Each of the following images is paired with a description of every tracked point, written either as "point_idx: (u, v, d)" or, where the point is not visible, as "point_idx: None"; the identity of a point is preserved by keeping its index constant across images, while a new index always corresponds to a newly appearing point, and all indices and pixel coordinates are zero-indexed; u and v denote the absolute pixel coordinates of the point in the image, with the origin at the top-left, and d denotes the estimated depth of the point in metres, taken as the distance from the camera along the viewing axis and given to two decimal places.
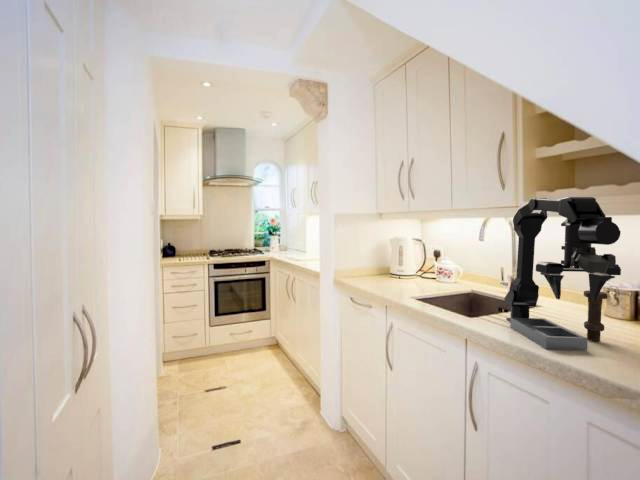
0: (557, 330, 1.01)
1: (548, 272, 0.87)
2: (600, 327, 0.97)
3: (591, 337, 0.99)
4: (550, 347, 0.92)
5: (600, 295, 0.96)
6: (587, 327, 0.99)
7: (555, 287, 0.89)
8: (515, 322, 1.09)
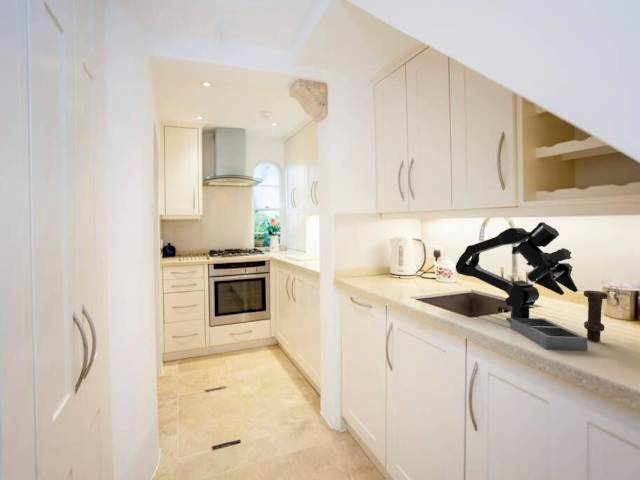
0: (557, 330, 1.01)
1: (544, 270, 1.03)
2: (600, 327, 0.97)
3: (591, 337, 0.99)
4: (550, 347, 0.92)
5: (600, 295, 0.96)
6: (587, 327, 0.99)
7: (554, 284, 1.03)
8: (515, 322, 1.09)
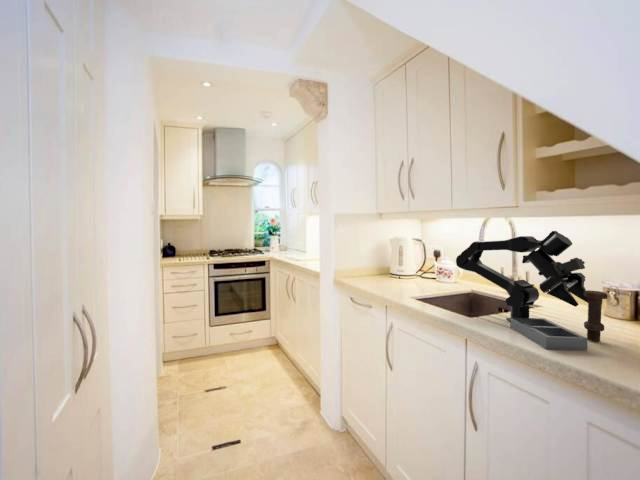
0: (557, 330, 1.01)
1: (557, 280, 0.99)
2: (600, 327, 0.97)
3: (591, 337, 0.99)
4: (550, 347, 0.92)
5: (600, 295, 0.96)
6: (587, 327, 0.99)
7: (568, 295, 1.00)
8: (515, 322, 1.09)
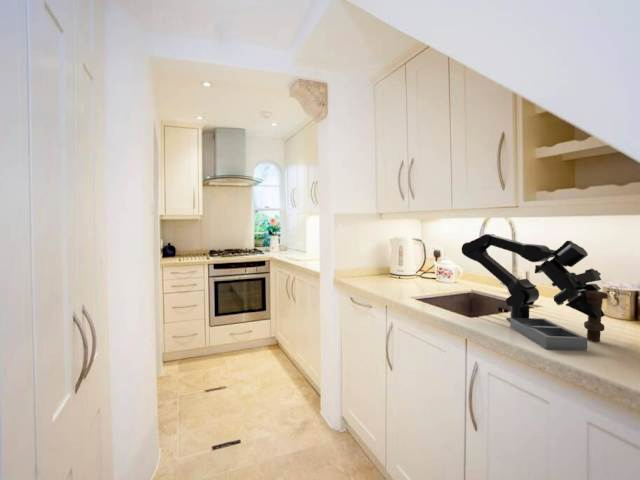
0: (557, 330, 1.01)
1: (573, 293, 0.96)
2: (600, 327, 0.97)
3: (591, 337, 0.99)
4: (550, 347, 0.92)
5: (600, 295, 0.96)
6: (587, 327, 0.99)
7: (587, 307, 0.98)
8: (515, 322, 1.09)
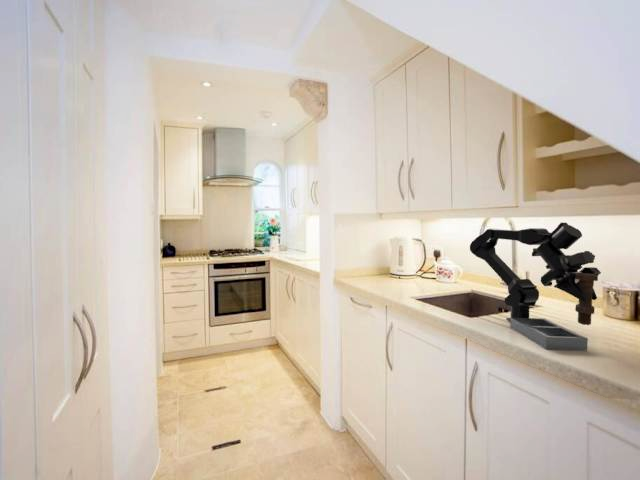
0: (557, 330, 1.01)
1: (557, 274, 0.96)
2: (589, 309, 0.95)
3: (580, 320, 0.97)
4: (550, 347, 0.92)
5: (589, 277, 0.94)
6: (576, 309, 0.97)
7: (575, 289, 0.96)
8: (515, 322, 1.09)
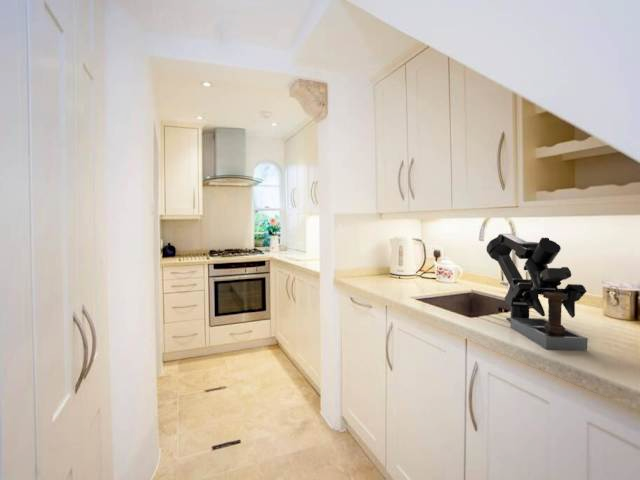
0: None
1: (520, 287, 0.99)
2: (554, 329, 0.95)
3: None
4: (550, 347, 0.92)
5: (552, 296, 0.95)
6: (545, 328, 0.98)
7: (536, 304, 0.97)
8: (515, 322, 1.09)
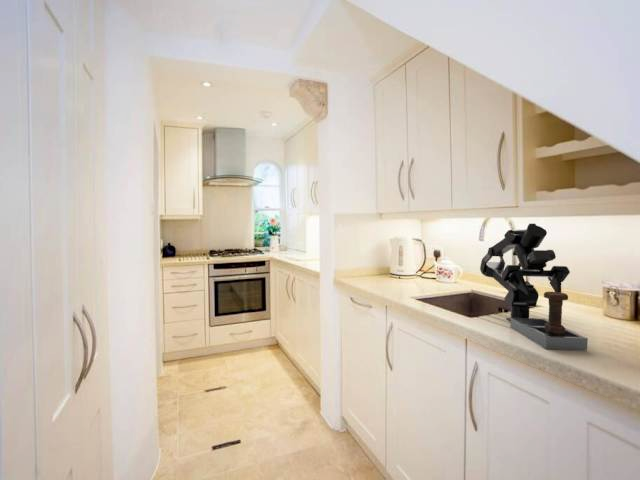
0: None
1: (509, 269, 1.07)
2: (555, 329, 0.95)
3: None
4: (550, 347, 0.92)
5: (553, 296, 0.95)
6: (545, 328, 0.98)
7: (521, 284, 1.05)
8: (515, 322, 1.09)
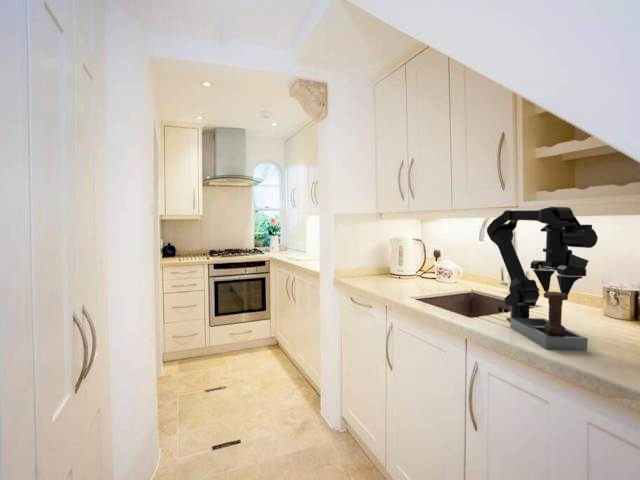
0: None
1: (585, 274, 0.95)
2: (555, 329, 0.95)
3: None
4: (550, 347, 0.92)
5: (552, 296, 0.95)
6: (545, 328, 0.98)
7: (569, 287, 0.99)
8: (515, 322, 1.09)
